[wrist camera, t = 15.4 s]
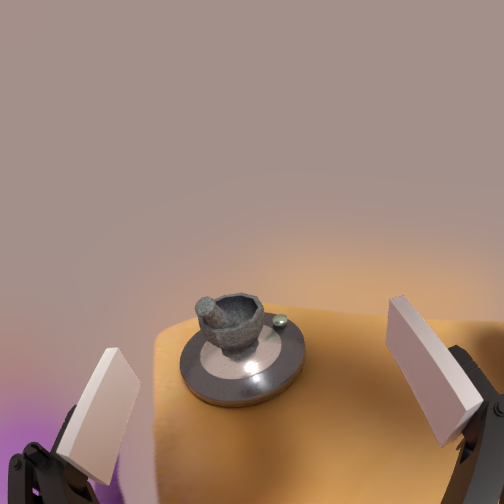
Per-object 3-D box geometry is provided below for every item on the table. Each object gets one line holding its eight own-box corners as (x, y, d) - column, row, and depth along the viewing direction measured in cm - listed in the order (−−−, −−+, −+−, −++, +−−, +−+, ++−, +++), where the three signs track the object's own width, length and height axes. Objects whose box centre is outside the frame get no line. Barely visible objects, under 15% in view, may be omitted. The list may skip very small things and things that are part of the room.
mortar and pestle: (226, 324, 48) (208, 264, 43) (276, 328, 44) (264, 263, 40) (196, 368, 38) (168, 304, 34) (253, 378, 35) (233, 309, 30)
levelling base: (294, 317, 52) (291, 298, 50) (318, 398, 33) (317, 379, 31) (194, 335, 52) (187, 317, 51) (179, 417, 34) (167, 400, 32)
